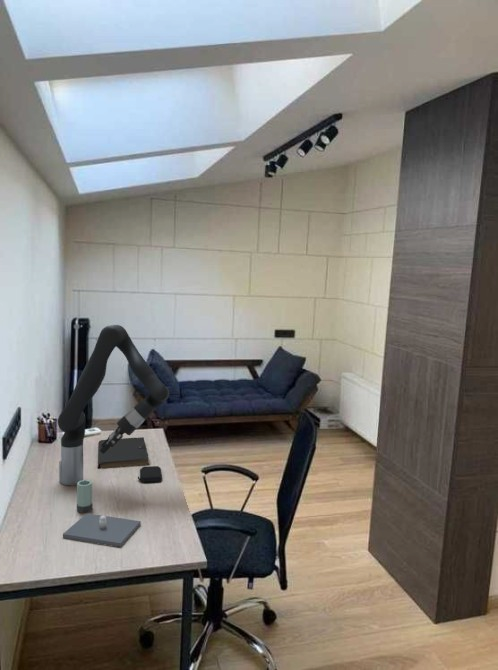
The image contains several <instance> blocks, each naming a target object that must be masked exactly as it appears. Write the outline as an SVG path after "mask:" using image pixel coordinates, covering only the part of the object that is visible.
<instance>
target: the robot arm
mask: <svg viewBox="0 0 498 670" xmlns="http://www.w3.org/2000/svg"><path fill="white" fill-rule="evenodd" d="M115 348H117V349H118V350H119V351H120V352H121V353H122V354H123V355H124V357H125V358H126V360H127V362H128V364H129V368H130V369H131V370H130V371H131V372H132V373H133V374H134V376H135V377H136V378H137V379H138V381H139V382H140V383H141V384H142V385H143V386H144V387H145V389H146V390H147V392H148V393H149V394H148V395H147V396H146V397H145V398H143V399H141V400H140V401H139V402H138V403H137V404H136V405H135V406H134V407H132V408H131V409H130V410H128V411H127V412H126V414H124V415H123V416H122V417H121V418H120V419H119V420H118V421H117V423H116V424H117V426H118V427H117V428H115V429H114V430H113V431H112V432H111V433H110V434H109V435H108V437H107V438H106V439H105V440H106V441H105V442H103V443H102V444H101V446H102V448H101V449H100V451H101V452H102V453H103V454H104V453H105V452H106V451H107V450H108V449H109V448H110V447H113V446H114V445H115V444H116V443H117V442H118V441H119V440H120V439H122V438H124V436H123V435H125V434H126V435H127V436H131V435H133V433H134V432H135V431H136V430H137V429H138V428H140V426H141V425H142V424H143V423H144V422H145V421H146V419H148V418H149V417H150V416H151V415H152V414H153V412H154V411H155V410H157V409H158V408H159V407H161V406H162V405H163V404H164V403H165V402H166V401H167V400H168V399H169V397H170V390H169V388H168V387H167V386H166V385H165V384H164V383H163V382H162V381H161V380H160V379H159V377H158V376H157V374H156V373H155V371H154V369H153V368H152V367H151V366H150V365H149V364H148V362H147V361H146V360H145V358H143V356H142V354H141V353H140V352H139V351H138V348H137V347H136V345H135V344H134V342H133V340H132V339H131V337H130V335H129V333H128V332H127V330H126V328H124V326H122V325H120V324H112V325H107V326H105V327H103V328H102V330H101V331H100V332H99V335H98V338H97V340H96V343H95V346H94V349H93V351H92V352H91V355H90V357H89V358H88V361H87V362H86V364H85V366H84V369H83V370H82V372H81V374H80V376H79V378H78V379H77V380H78V381H77V382H76V385H75V386H74V389H73V392H72V394H71V396H70V398H69V400H68V402H67V403H66V405H65V406H64V408H63V409H62V411H61V412H60V414H59V416H58V418H57V424H58V425H57V426H58V428H59V429H60V430H61V431H62V432H63V435H62V437H61V439H60V453H61V454H60V457H61V458H60V459H61V460H60V461H59V464H58V468H59V469H58V470H59V471H58V472H59V473H58V474H59V475H58V477H59V479H58V480H59V484H61V485H63V484H64V486H68V485H72V486H77V483H78V482H79V481H83V480H84V438H85V436H86V414H85V412H84V410H85V408H86V406H87V405H88V403H89V402H90V401H91V399H92V398H94V396H95V394H96V393H97V392H98V390H99V388H100V387H101V385H102V383H103V381H104V380H105V377H106V372H107V366H108V365H107V364H108V360H109V358H110V356H111V355H112V353H113V351H114V350H115ZM111 442H113V444H112V443H111Z"/></svg>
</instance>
